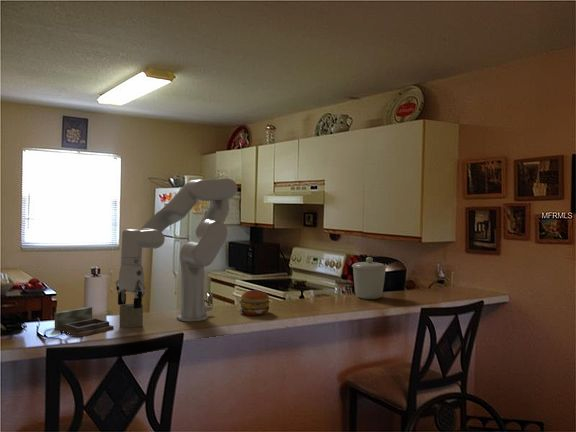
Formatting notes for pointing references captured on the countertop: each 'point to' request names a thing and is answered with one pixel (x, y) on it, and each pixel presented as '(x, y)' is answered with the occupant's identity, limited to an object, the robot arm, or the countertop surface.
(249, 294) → the burger
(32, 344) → the countertop surface
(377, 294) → the canister
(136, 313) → the padlock
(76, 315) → the open hinged box
